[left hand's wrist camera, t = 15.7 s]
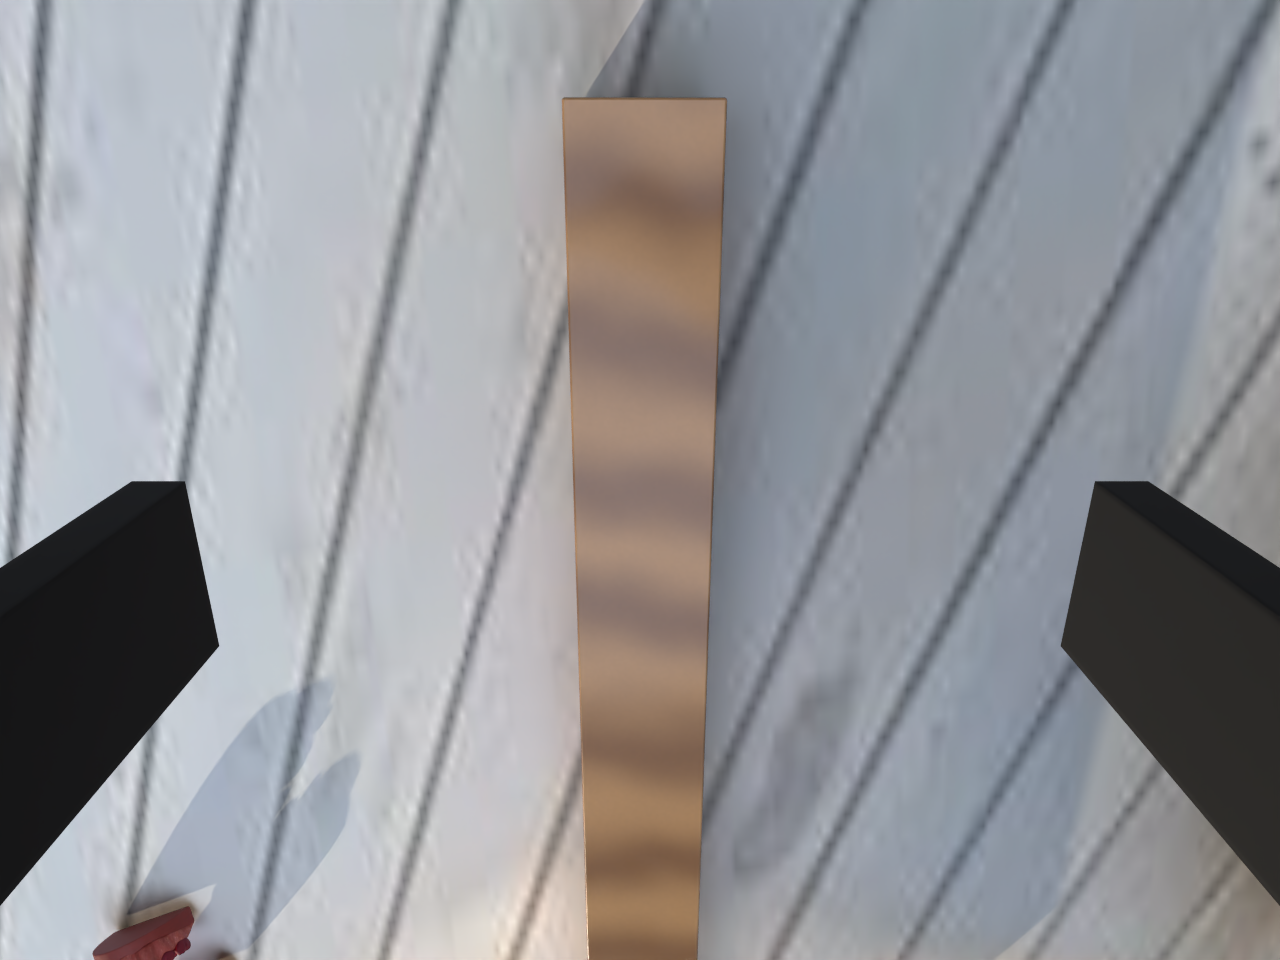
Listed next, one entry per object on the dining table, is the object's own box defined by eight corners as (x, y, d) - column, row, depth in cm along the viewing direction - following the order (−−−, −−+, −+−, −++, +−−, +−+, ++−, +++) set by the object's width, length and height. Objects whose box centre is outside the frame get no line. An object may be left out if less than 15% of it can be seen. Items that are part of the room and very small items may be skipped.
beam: (577, 107, 36) (561, 97, 29) (709, 107, 36) (727, 97, 29) (604, 1229, 64) (599, 1366, 57) (678, 1229, 64) (683, 1367, 57)
